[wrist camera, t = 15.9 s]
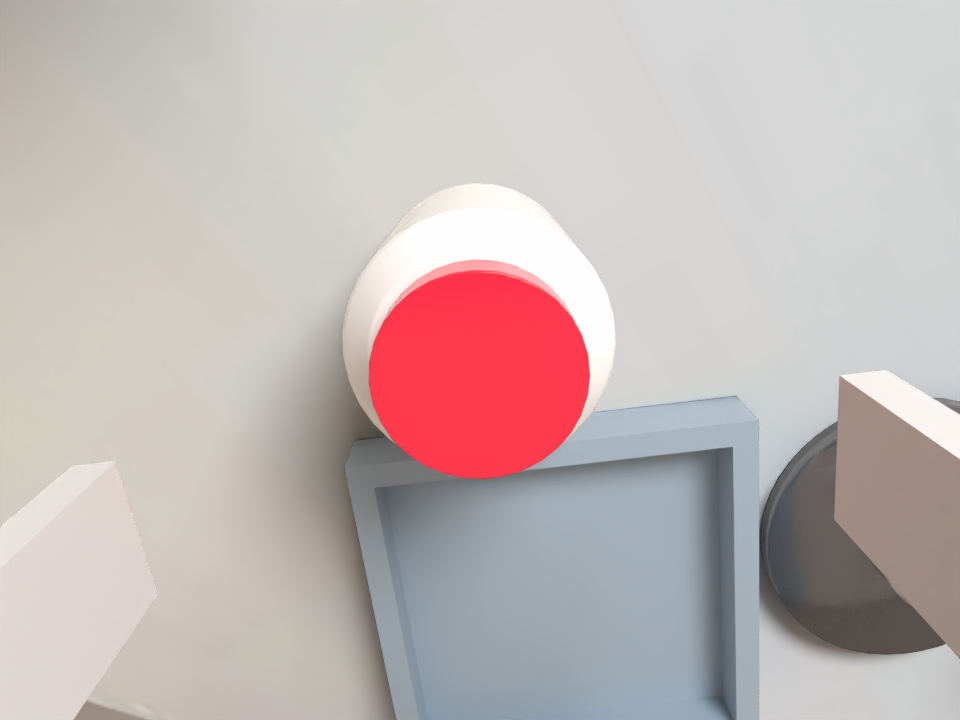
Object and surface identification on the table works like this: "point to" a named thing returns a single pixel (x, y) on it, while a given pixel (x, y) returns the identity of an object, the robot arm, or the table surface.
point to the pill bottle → (478, 333)
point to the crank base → (833, 562)
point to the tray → (572, 573)
